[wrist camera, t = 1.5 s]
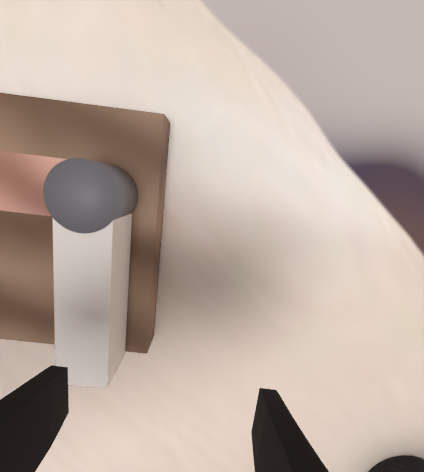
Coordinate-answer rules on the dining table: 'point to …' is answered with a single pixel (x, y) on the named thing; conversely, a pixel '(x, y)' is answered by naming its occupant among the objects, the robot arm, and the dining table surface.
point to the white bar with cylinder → (90, 266)
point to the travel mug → (400, 465)
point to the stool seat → (41, 222)
